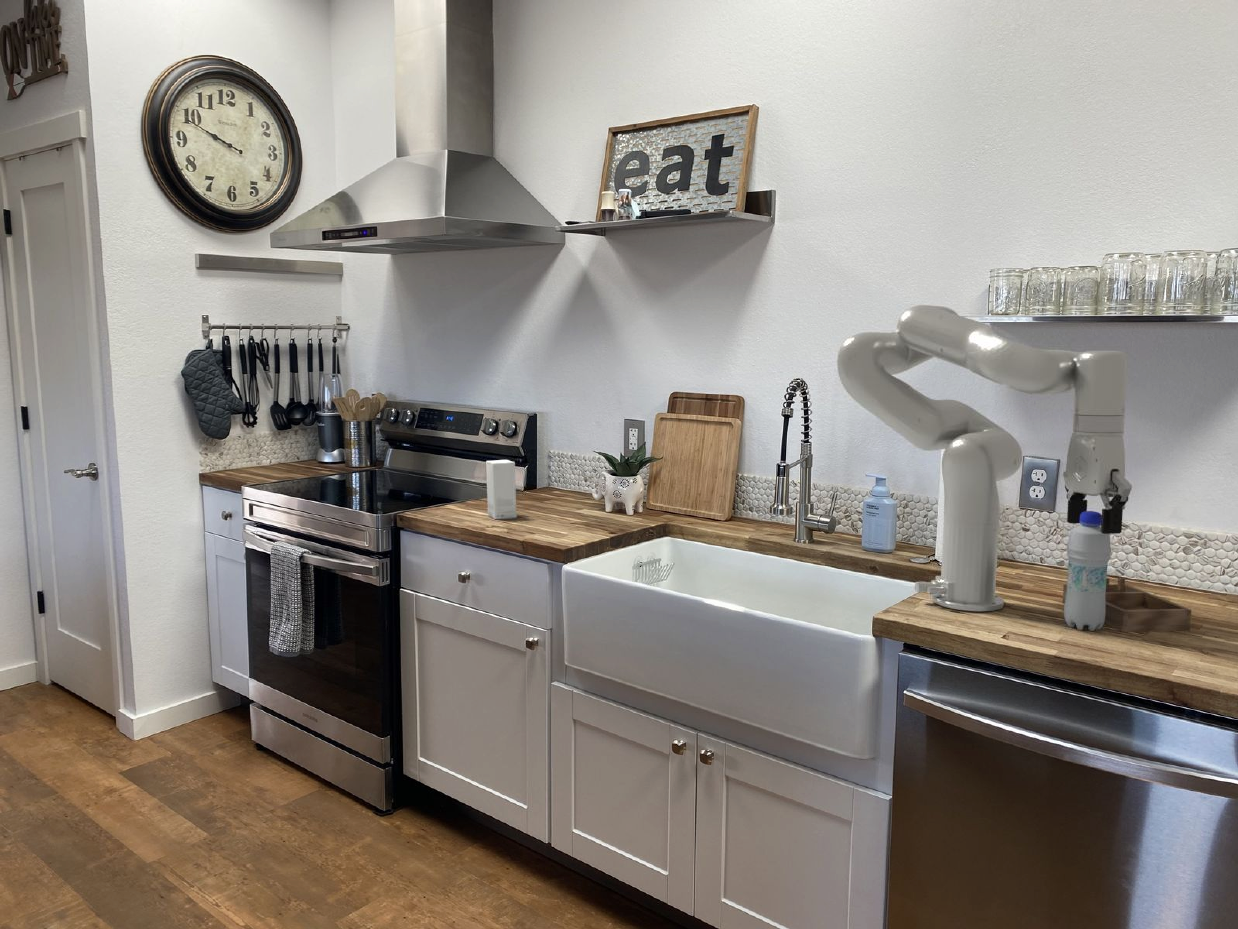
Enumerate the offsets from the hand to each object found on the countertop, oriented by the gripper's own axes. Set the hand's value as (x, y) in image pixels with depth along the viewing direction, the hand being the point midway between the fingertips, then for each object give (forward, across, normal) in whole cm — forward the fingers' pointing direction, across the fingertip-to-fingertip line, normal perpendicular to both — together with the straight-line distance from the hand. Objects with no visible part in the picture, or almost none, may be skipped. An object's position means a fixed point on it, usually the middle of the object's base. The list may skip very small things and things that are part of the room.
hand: (1093, 528), depth 157 cm
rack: (+17, -7, +10) cm, 21 cm away
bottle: (+17, -1, 0) cm, 17 cm away
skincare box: (+15, -112, -102) cm, 152 cm away
